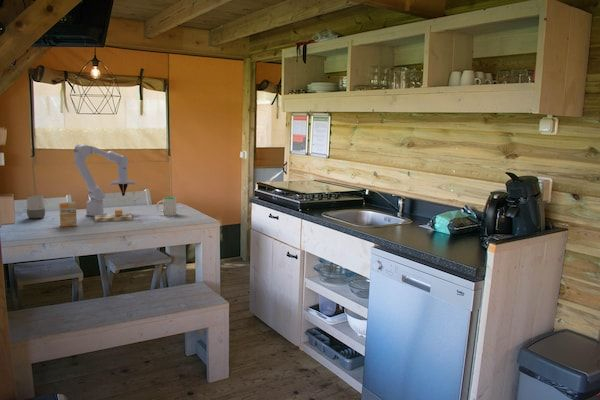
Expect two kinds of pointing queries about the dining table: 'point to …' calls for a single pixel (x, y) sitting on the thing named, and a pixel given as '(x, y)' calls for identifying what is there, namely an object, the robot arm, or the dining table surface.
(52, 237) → the dining table surface
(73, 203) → the supplement box
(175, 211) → the mug
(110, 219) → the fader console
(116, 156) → the robot arm
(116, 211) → the fader tab
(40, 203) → the smart speaker
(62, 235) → the dining table surface
